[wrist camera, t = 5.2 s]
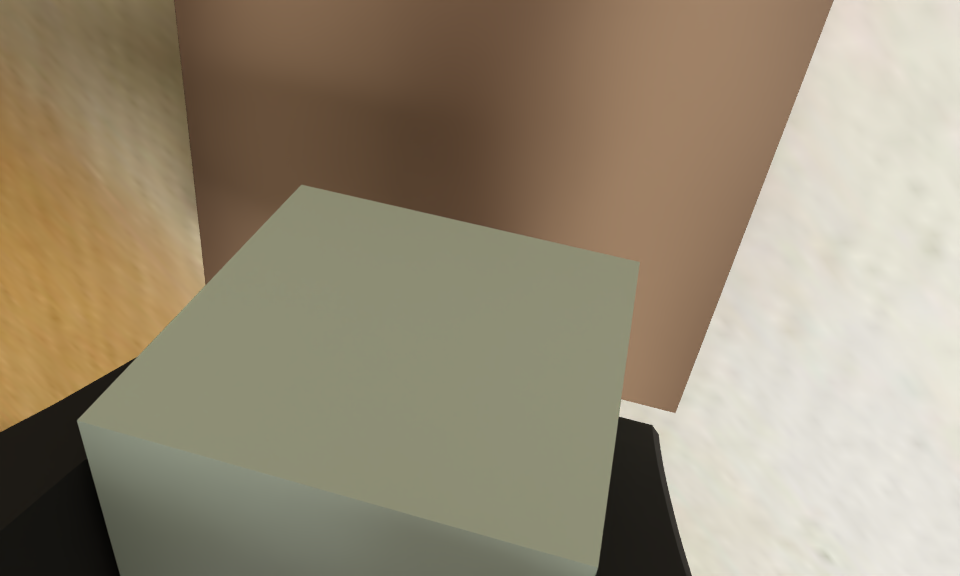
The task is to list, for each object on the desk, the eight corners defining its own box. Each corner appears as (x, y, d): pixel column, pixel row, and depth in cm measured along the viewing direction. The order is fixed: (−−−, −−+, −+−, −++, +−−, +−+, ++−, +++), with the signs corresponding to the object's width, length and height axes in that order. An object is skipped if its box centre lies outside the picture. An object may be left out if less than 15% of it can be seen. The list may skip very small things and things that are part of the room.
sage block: (307, 422, 13) (151, 683, 9) (301, 184, 10) (77, 421, 7) (573, 494, 12) (516, 802, 9) (640, 262, 10) (598, 568, 6)
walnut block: (265, 230, 20) (206, 293, 18) (239, -284, 14) (142, -293, 11) (679, 330, 19) (675, 412, 17) (862, -187, 13) (900, -174, 10)
